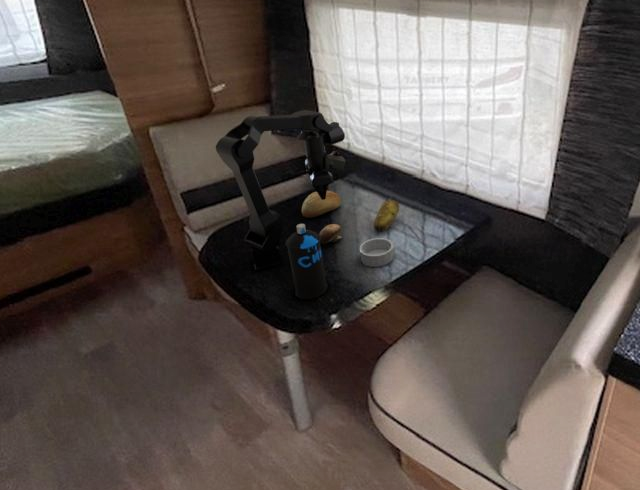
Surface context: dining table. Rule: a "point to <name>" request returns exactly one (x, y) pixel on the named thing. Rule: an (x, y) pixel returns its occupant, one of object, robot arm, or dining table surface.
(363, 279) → the dining table surface
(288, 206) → the dining table surface
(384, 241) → the white ramekin
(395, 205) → the potato
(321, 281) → the aerosol can
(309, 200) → the bread roll
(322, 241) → the mushroom
